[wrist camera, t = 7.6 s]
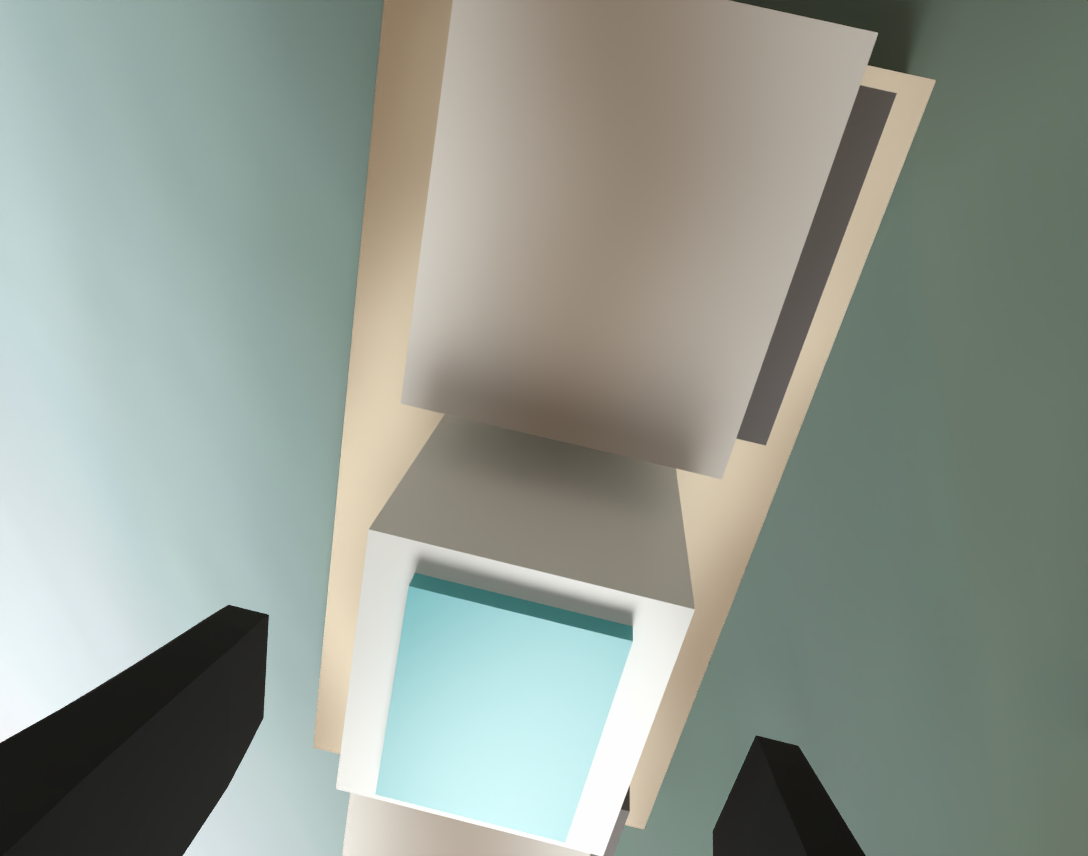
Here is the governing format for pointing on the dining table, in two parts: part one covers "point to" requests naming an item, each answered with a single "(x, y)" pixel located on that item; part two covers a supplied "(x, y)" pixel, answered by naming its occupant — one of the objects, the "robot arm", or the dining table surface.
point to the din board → (604, 282)
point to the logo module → (515, 633)
